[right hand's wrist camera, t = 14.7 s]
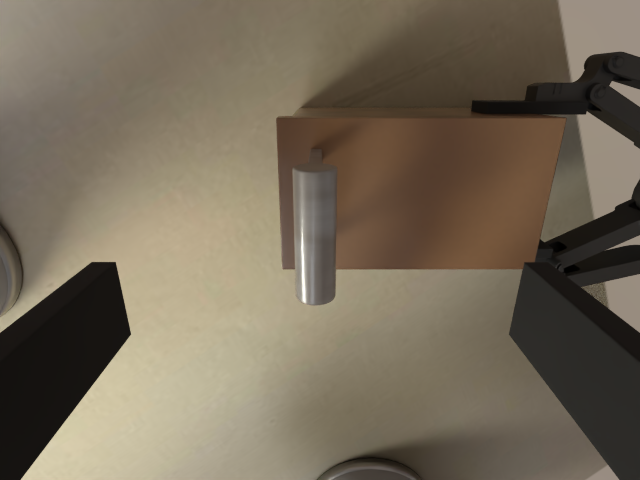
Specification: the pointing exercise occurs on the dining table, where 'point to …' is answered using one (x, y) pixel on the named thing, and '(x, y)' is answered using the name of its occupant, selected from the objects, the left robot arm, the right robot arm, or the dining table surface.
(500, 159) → the lid
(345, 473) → the left robot arm
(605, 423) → the right robot arm
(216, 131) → the dining table surface
